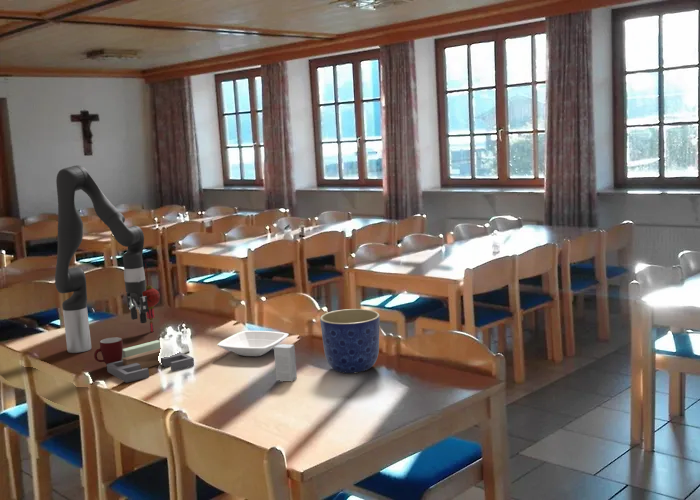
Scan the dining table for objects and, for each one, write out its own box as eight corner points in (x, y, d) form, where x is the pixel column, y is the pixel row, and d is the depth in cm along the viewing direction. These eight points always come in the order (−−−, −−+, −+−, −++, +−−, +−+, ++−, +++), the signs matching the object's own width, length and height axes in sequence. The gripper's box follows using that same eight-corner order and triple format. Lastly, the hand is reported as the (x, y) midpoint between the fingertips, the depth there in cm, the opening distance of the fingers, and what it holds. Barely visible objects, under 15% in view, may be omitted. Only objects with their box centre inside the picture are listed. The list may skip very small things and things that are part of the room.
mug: (100, 372, 298) (97, 346, 296) (92, 367, 304) (89, 341, 303) (128, 366, 304) (125, 340, 302) (120, 361, 310) (117, 336, 309)
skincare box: (297, 378, 279) (294, 344, 277) (292, 382, 275) (290, 347, 273) (280, 377, 281) (278, 343, 279) (275, 381, 277) (273, 347, 275)
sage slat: (121, 362, 310) (120, 349, 309) (158, 352, 321) (157, 339, 320) (126, 363, 308) (125, 351, 307) (163, 353, 319) (162, 341, 318)
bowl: (213, 360, 306) (211, 345, 305) (243, 343, 327) (242, 329, 326) (266, 364, 297) (265, 349, 296) (294, 346, 318) (293, 332, 317)
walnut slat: (123, 371, 299) (122, 358, 298) (162, 360, 309) (161, 348, 309) (128, 373, 296) (127, 359, 295) (167, 362, 307) (166, 349, 306)
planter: (394, 366, 287) (391, 313, 284) (354, 382, 272) (351, 326, 269) (351, 356, 301) (348, 306, 298) (310, 371, 286) (307, 318, 283)
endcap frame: (107, 371, 298) (106, 363, 298) (173, 356, 314) (172, 348, 313) (126, 382, 284) (125, 374, 284) (194, 365, 300) (193, 357, 299)
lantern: (160, 334, 348) (153, 264, 343) (138, 335, 348) (131, 265, 343) (165, 328, 357) (159, 260, 352) (144, 329, 357) (137, 261, 352)
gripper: (118, 278, 313) (122, 320, 315) (132, 283, 301) (137, 326, 304) (136, 275, 317) (140, 316, 320) (151, 279, 306) (156, 322, 308)
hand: (139, 321), depth 312 cm, fingers open, 8 cm apart
